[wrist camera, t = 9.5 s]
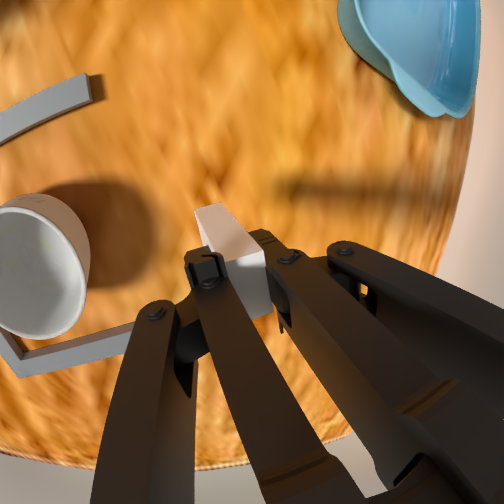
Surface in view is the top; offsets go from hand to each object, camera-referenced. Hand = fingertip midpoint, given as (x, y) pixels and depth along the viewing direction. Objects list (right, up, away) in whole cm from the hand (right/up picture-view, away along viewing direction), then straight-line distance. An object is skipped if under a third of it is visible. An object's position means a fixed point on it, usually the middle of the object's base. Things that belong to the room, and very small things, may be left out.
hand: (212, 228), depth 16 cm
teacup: (-18, -1, +6) cm, 19 cm away
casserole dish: (+22, +32, +7) cm, 39 cm away
